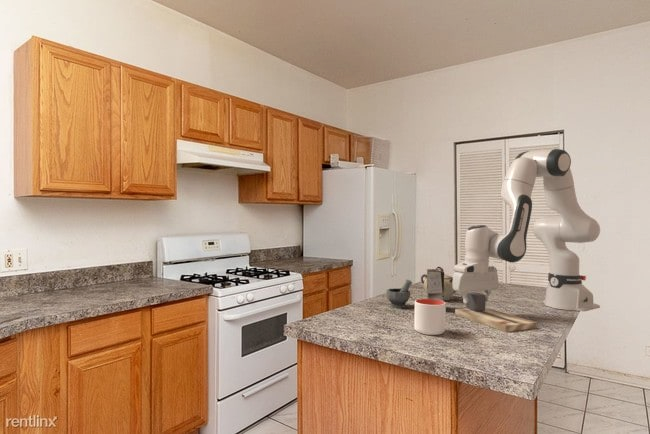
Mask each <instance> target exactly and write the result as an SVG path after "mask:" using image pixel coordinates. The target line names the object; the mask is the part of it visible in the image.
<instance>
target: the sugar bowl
mask: <svg viewBox="0 0 650 434" xmlns="http://www.w3.org/2000/svg"><path fill="white" fill-rule="evenodd" d="M436 269H442V270H443V271H444V269H443V268H442V266H437V267H436ZM444 272H445V271H444ZM424 277H425V278H424ZM420 281H421V283H422V285H423V288H424V290H425V292H426V293H427V274H422V275H421V276H420ZM456 292H457V291H454V289H453V276H451V275H448V274H446V273H444V301H449V300H451V298H452V297H453V295H455V293H456Z"/></svg>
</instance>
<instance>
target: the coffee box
mask: <svg viewBox="0 0 650 434" xmlns="http://www.w3.org/2000/svg"><path fill="white" fill-rule="evenodd" d="M442 269H443V268H442ZM442 269H439V268H438V269H435V268H434V269H433V268H432V269H430V268H427V269H426V270H427V271H426V275H427V292H426V299H436V300H441V301H444V302H445V300H444V274H445V271H443V270H444V269H443V270H442Z"/></svg>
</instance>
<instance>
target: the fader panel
mask: <svg viewBox="0 0 650 434" xmlns="http://www.w3.org/2000/svg"><path fill="white" fill-rule="evenodd" d="M454 315H456V316H459V317H462V318H465V319H467V320H470V321H473V322H476V323H478V324H481V325H485V326H488V327H491V328H493V329H496V330H499V331H502V332H503V333H507V332H508V333H509V332H515V331H523V330H530V329H537V321H534V320H530V319H526V318H523V317H519V316H516V315H513V314H509V313H506V312H504V311H503V312H502V311H500V310H496V309H492V308H489V307H486V306H485V310H482V311H476V310H472V309H469V308H466V307H463V308H456V309H454Z"/></svg>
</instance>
